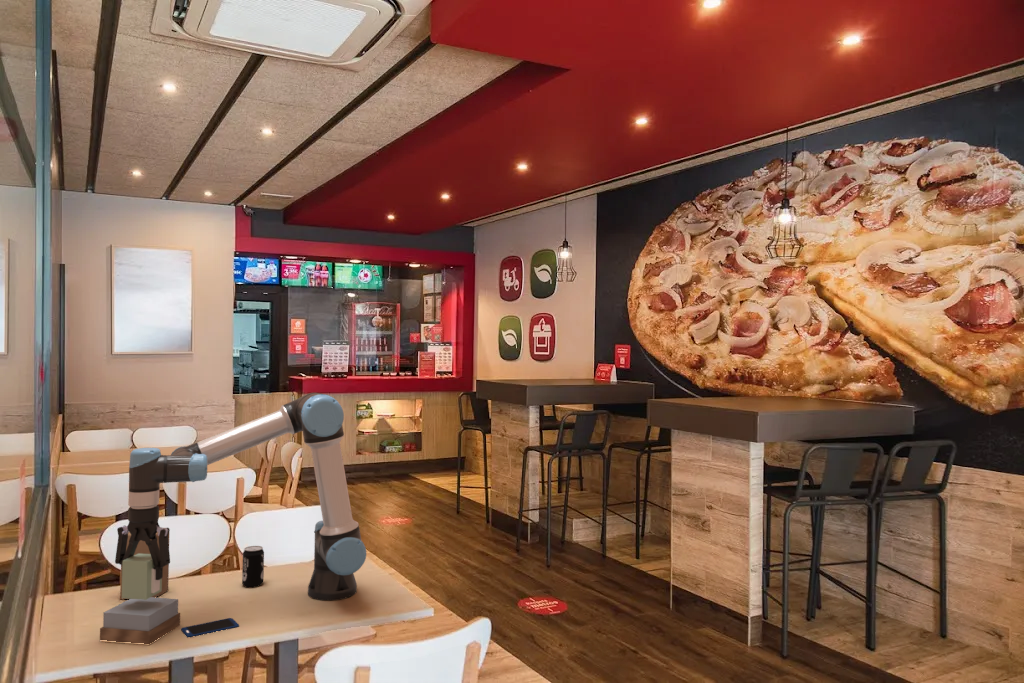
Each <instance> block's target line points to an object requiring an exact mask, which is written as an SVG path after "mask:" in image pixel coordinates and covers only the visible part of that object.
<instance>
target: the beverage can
mask: <svg viewBox="0 0 1024 683" xmlns="http://www.w3.org/2000/svg"><path fill="white" fill-rule="evenodd" d="M263 548H264V547H263V546H261V545H251V546H250V545H249V546H246V547H244V548H243V549H244V550H243V552H242V568H241V569H242V572H241V573H242V574H241V575H242V577H241V580H242V581H241V583H242V585H243V586H244V587H245V586H246V587H245V588H249V587H252V588H255V587H254V586H258V585H260V586H262V585H261V584H264V578H265V576H264V575H265V574H264V571H265V567H264V566H265V551H264V549H263ZM258 587H259V586H258Z"/></svg>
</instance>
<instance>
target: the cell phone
mask: <svg viewBox="0 0 1024 683" xmlns="http://www.w3.org/2000/svg"><path fill="white" fill-rule="evenodd" d="M239 627H240V624H239V623H238V622H237V621H236V620H235V619H234V618H232V617H228V618H227V617H226V618H223V619H218V620H212V621H209V622H203V623H198V624H194V625H190V626H184V627H181V628H180V631H181V632H182V634H183V635H184V634H185V635H186V636H187V637H186V636H185V635H184V636H185V637H186V638H188V637H190V638H194V637H193V636H195V637H199V635H200V636H203V634H204V635H208V634H207V633H209V634H214V633H216V631H218V632H222V631H221V630H223V631H227V630H230V629H236V628H239ZM226 629H227V630H226ZM213 632H214V633H213Z"/></svg>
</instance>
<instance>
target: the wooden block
mask: <svg viewBox="0 0 1024 683" xmlns="http://www.w3.org/2000/svg"><path fill="white" fill-rule="evenodd" d="M170 530H171V529H170V528H169V532H170ZM130 537H131V534H130V532H128V539H127V547H128V545H129V540H130ZM156 537H157V544H158V547H159V536H158V532H157V533H156ZM151 540H152V539H151ZM168 543H169V544H170V533H169V534H168ZM127 547H126V550H127ZM159 550H160V549H159ZM138 553H140V554H150V551H149V548H148V545H146V543H145V541H142V540H140V541H139V543H138V545H137V548H136V550H135V553H134V555H136V554H138ZM169 565H170V563H169V564H168V565H166V566H163V577H162V591H161V592H159V593H157V594H156V595H154V596H152V597H156V598H158V597H160V596H162V595H163V594H165V593H166V591H167V592H168V591H169V573H170V572H169V571H170V566H169ZM119 592H120V593H119V594H120V595H119V599H120V600H124V599H127V598H122V566H121V565H120V591H119ZM164 592H165V593H164ZM159 595H160V596H159ZM157 596H158V597H157Z"/></svg>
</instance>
